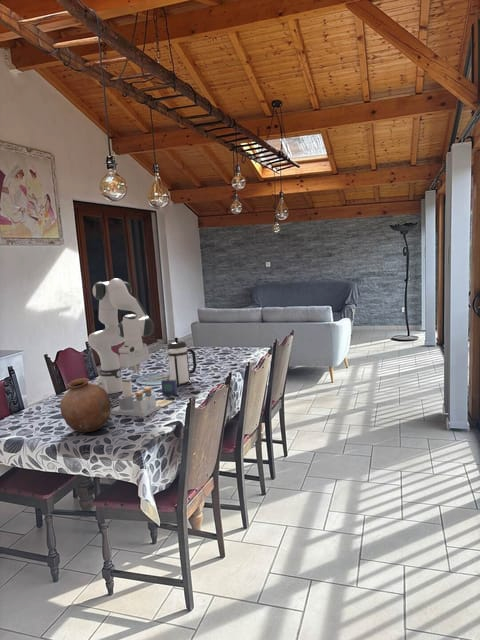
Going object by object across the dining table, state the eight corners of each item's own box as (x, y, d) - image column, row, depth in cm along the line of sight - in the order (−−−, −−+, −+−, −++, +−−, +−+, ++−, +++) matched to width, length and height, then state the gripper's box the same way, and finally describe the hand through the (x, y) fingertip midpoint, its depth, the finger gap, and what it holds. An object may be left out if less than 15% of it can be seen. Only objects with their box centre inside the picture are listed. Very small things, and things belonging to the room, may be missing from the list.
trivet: (147, 406, 259) (147, 405, 259) (158, 400, 268) (158, 399, 268) (162, 407, 255) (162, 406, 255) (173, 401, 264) (172, 400, 264)
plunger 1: (134, 406, 245) (132, 393, 244) (139, 403, 249) (138, 390, 248) (141, 406, 243) (139, 393, 242) (146, 403, 247) (144, 391, 246)
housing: (110, 413, 252) (108, 399, 251) (127, 405, 264) (125, 391, 263) (144, 417, 242) (143, 401, 241) (160, 408, 255) (158, 393, 254)
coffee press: (189, 387, 292) (185, 339, 288) (165, 387, 296) (160, 340, 291) (197, 379, 309) (193, 334, 305) (174, 379, 312) (170, 335, 308)
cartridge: (122, 408, 253) (119, 380, 251) (128, 405, 258) (125, 378, 256) (130, 408, 251) (127, 381, 249) (135, 405, 256) (132, 378, 254)
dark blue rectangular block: (178, 393, 279) (176, 376, 278) (176, 395, 277) (174, 377, 275) (163, 394, 282) (161, 376, 280) (161, 395, 279) (159, 377, 277)
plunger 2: (143, 401, 252) (141, 389, 251) (148, 398, 256) (146, 386, 255) (149, 402, 250) (148, 389, 249) (154, 399, 254) (153, 387, 253)
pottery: (117, 419, 242) (111, 371, 238) (106, 436, 219) (100, 384, 215) (72, 423, 241) (66, 375, 238) (56, 440, 218) (49, 388, 215)
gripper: (141, 342, 253) (144, 367, 255) (116, 350, 234) (119, 377, 236) (151, 342, 250) (153, 367, 252) (126, 350, 232) (129, 378, 234)
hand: (136, 372), depth 244 cm, fingers closed
